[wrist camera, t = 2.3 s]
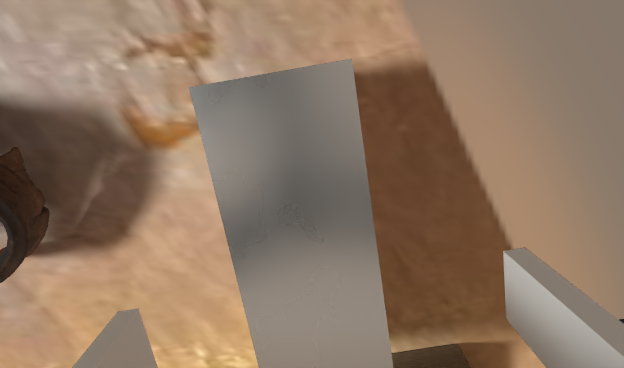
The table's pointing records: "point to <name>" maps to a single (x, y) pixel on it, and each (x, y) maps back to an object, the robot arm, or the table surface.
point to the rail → (431, 358)
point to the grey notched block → (298, 214)
